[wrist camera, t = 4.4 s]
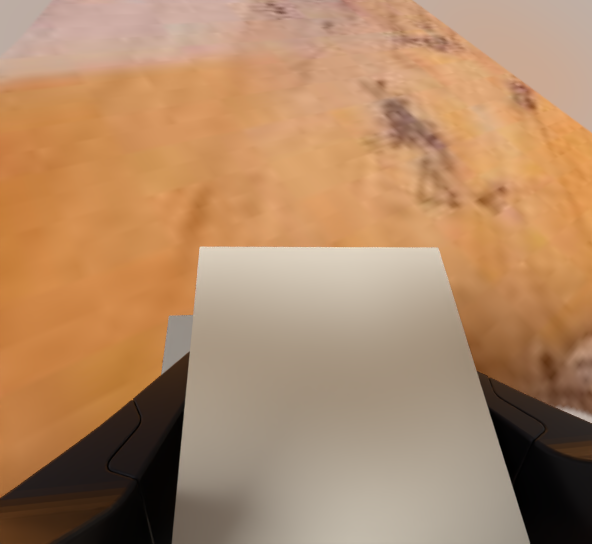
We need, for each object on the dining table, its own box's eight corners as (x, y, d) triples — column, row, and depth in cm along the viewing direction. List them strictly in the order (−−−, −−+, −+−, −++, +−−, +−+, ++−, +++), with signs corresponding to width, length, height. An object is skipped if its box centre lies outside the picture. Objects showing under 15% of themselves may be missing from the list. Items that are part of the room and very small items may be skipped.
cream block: (357, 454, 11) (532, 552, 4) (231, 466, 11) (164, 610, 3) (341, 330, 13) (438, 247, 6) (235, 334, 13) (199, 246, 5)
